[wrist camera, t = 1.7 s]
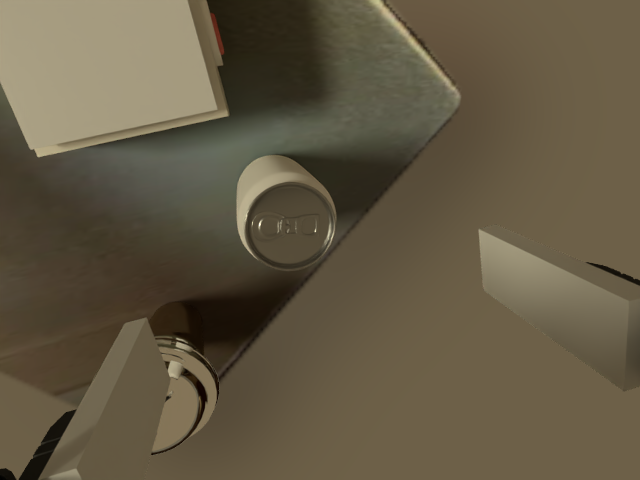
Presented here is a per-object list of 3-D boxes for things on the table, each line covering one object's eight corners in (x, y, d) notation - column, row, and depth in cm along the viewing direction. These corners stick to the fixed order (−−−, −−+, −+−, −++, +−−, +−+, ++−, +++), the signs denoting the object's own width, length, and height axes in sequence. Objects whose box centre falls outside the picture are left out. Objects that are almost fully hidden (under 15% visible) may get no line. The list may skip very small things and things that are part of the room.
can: (235, 153, 34) (234, 174, 23) (310, 154, 35) (345, 174, 24) (238, 227, 36) (238, 280, 25) (309, 225, 37) (340, 275, 26)
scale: (9, -28, 27) (-86, -85, 19) (195, -58, 29) (179, -123, 21) (79, 147, 32) (25, 160, 24) (239, 112, 33) (240, 113, 25)
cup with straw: (234, 348, 39) (231, 562, 21) (141, 375, 38) (50, 626, 20) (208, 270, 37) (178, 438, 18) (107, 298, 36) (-37, 505, 17)
